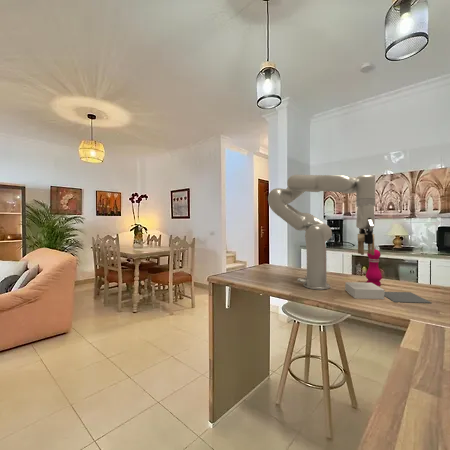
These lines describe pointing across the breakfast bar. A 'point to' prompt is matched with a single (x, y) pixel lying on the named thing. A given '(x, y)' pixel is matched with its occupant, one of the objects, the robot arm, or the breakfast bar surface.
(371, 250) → the stool
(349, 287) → the step
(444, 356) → the breakfast bar surface
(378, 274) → the pepper mill
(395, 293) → the mat
